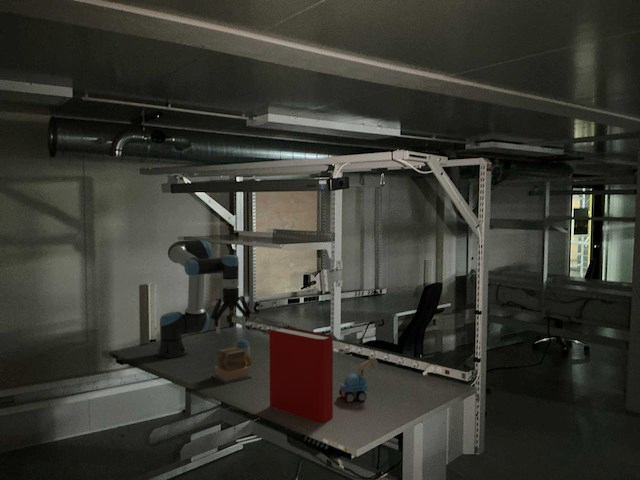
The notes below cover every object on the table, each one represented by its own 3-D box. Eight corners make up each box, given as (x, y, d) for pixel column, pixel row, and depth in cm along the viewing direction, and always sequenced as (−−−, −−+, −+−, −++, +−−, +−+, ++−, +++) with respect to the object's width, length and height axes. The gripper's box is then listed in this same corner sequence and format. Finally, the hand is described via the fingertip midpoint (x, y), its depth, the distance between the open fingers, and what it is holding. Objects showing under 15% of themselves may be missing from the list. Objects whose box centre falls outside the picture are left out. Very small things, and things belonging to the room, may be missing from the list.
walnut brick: (218, 366, 246) (218, 349, 245) (235, 362, 251) (234, 347, 251) (227, 371, 238) (227, 354, 238) (244, 367, 243) (244, 351, 243)
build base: (212, 376, 246) (211, 366, 246) (237, 370, 255) (237, 361, 254) (225, 384, 235) (224, 373, 235) (251, 378, 243) (251, 367, 243)
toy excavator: (381, 399, 215) (381, 359, 214) (344, 403, 210) (344, 363, 210) (373, 392, 223) (373, 354, 222) (337, 396, 219) (337, 357, 218)
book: (269, 406, 208) (269, 329, 206) (283, 400, 214) (282, 326, 212) (321, 423, 190) (321, 339, 189) (334, 417, 197) (334, 335, 195)
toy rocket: (250, 371, 256) (243, 344, 254) (230, 374, 259) (223, 346, 256) (256, 362, 266) (249, 336, 264) (237, 365, 269) (230, 338, 266)
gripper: (209, 290, 232) (210, 336, 233) (257, 286, 247) (257, 329, 248) (203, 288, 238) (203, 333, 239) (249, 284, 253) (250, 326, 254)
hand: (231, 331), depth 244 cm, fingers open, 13 cm apart
